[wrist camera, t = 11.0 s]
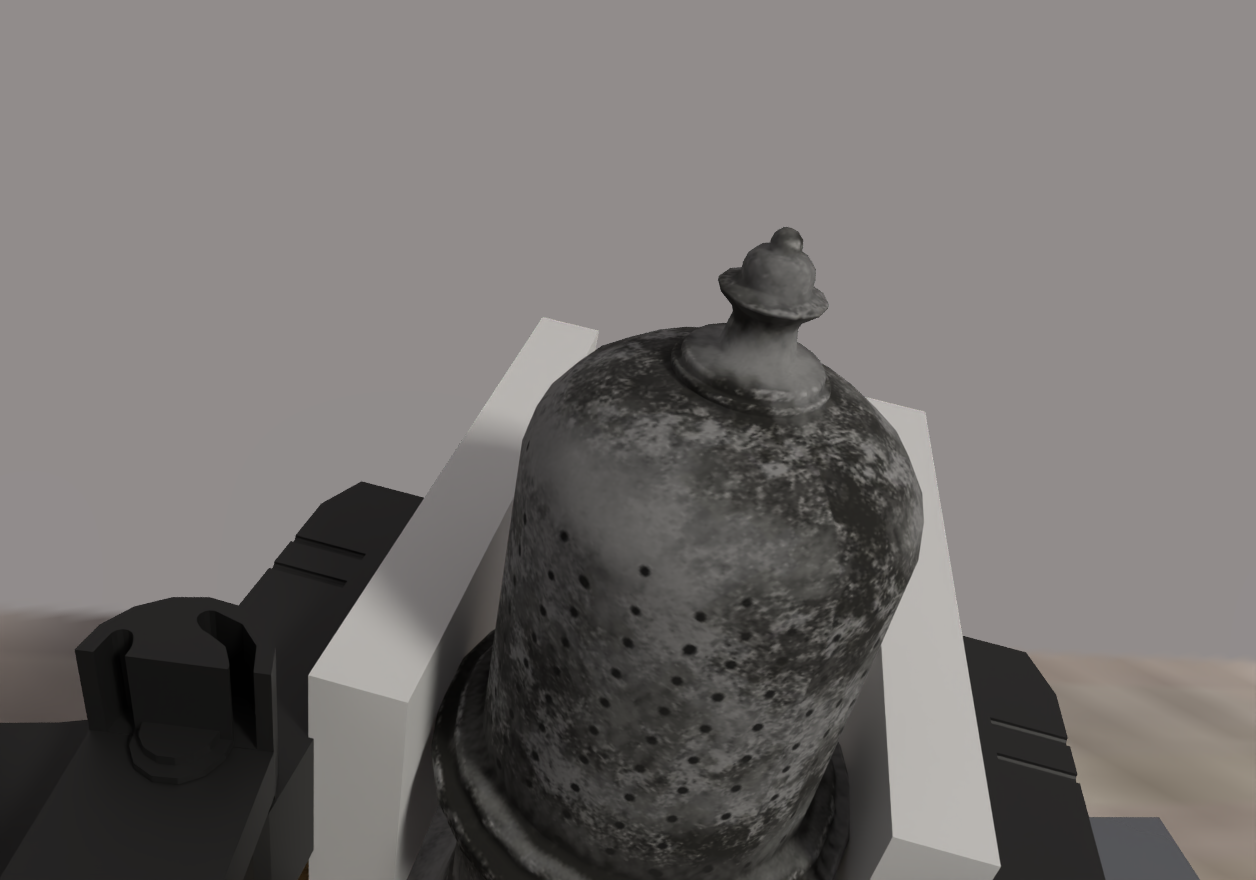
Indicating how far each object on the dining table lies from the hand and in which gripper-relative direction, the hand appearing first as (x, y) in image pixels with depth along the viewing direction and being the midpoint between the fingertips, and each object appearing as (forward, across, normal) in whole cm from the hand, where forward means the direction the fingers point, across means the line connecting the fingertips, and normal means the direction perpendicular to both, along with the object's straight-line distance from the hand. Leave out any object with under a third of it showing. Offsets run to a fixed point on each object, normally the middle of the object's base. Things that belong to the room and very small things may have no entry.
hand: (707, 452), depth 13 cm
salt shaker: (-5, 0, -7) cm, 9 cm away
